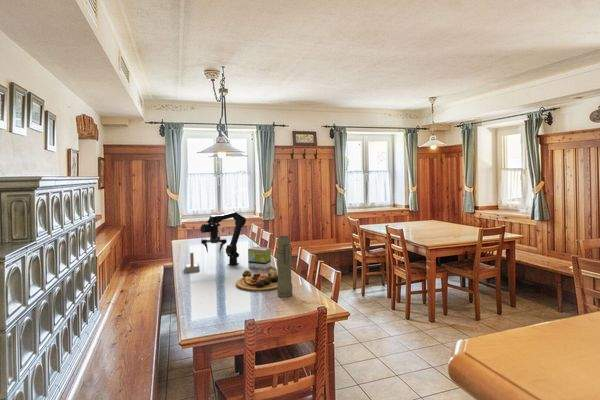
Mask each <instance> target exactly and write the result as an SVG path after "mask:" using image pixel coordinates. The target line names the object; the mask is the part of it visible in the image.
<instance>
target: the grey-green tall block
mask: <svg viewBox="0 0 600 400" xmlns="http://www.w3.org/2000/svg"><path fill="white" fill-rule="evenodd" d="M276 244H277V255H276V267H277V275H278V284H277V289H276V291H277V297H278V298H282V299H285V298H286V299H288V298H291V297H293V289H294V288H293V282H292V267H293V257H292V254H291V249H292V247H291V238H290V236H288V235H279V236H278V238H277V243H276Z"/></svg>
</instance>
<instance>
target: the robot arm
mask: <svg viewBox="0 0 600 400" xmlns="http://www.w3.org/2000/svg"><path fill="white" fill-rule="evenodd" d="M228 219H233V220H234V225H235V227H234V231H233V234H232V237H231V240H230V243H229V244H227V243H228V242H227V238H221V236H219V227H220V226H221V224H220V222H222V221H225V220H228ZM246 223H247V219H246V217H245V216H243V215H241V214H240V213H238V212H237V211H236V212H235V211H231V212H228V213H223V214H219V215H216V214H214V215H212V214H211V215H210V216H209V218H208V220H207V222H206V223H202V224H201V226H200V233H202V234H207V233H208V234H209V233H210V235H209V237H210V238H209V239H207V238H202V239H201V240H200V243H201V244H203V245H204V246H205V248H206V253H207V254H208V253H209V250H208V248H209V247H208V243H211V244H218V243H220V244H219V252H221V251H222V248H223V246H224V245H225V244H227V245H226V247H225V253H226V255H227V257H228V258H229V259H228V262H229V263H228V264H227V265H228V266H237V265H239V264H240V263H239V262H238V258H239V257H240V254H239V253H238V246H237V243H238V241H239V238H240V234H241V231H242V228H244V227H245V225H246Z"/></svg>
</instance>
